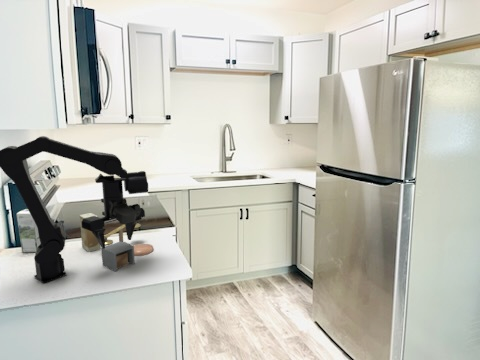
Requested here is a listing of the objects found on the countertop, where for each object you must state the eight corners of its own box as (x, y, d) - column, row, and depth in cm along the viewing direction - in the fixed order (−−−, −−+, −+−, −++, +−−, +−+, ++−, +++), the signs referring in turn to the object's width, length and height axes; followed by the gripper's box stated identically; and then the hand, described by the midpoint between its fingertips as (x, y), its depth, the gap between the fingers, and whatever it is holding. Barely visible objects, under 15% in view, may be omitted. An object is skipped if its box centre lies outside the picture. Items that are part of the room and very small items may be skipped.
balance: (104, 256, 116) (102, 230, 115) (97, 252, 119) (95, 227, 117) (144, 242, 129) (142, 218, 127) (136, 239, 131) (135, 216, 130)
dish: (137, 258, 114) (137, 255, 114) (121, 251, 120) (121, 249, 120) (158, 249, 121) (158, 247, 121) (142, 244, 127) (142, 241, 127)
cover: (115, 271, 105) (113, 253, 104) (102, 265, 109) (101, 247, 108) (135, 263, 110) (133, 246, 109) (122, 258, 114) (120, 241, 113)
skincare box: (81, 247, 124) (78, 214, 122) (93, 244, 127) (90, 212, 125) (88, 252, 119) (85, 218, 117) (101, 249, 122) (98, 215, 120)
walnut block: (117, 268, 107) (116, 256, 106) (109, 265, 109) (108, 253, 109) (128, 264, 110) (127, 252, 109) (120, 261, 112) (119, 249, 112)
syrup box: (46, 246, 125) (42, 207, 122) (38, 253, 119) (32, 212, 117) (30, 246, 125) (25, 208, 122) (21, 253, 119) (15, 212, 116)
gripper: (99, 206, 93) (103, 260, 96) (154, 193, 108) (157, 240, 111) (78, 200, 100) (83, 250, 103) (133, 189, 114) (136, 233, 117)
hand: (116, 243), depth 108 cm, fingers open, 9 cm apart
